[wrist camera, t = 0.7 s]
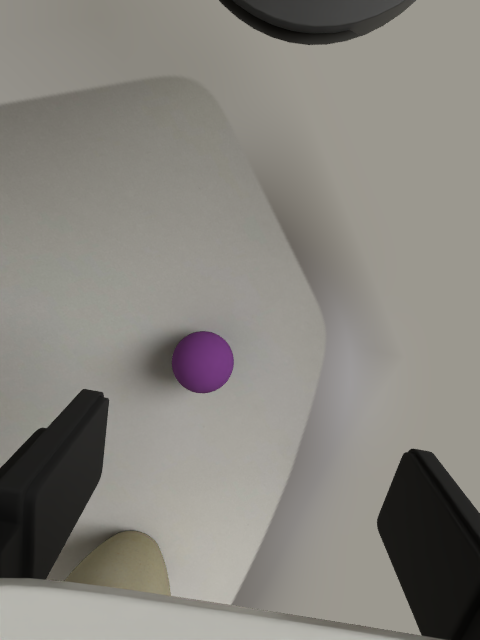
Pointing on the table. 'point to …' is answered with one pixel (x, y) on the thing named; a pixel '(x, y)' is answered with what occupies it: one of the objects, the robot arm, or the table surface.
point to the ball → (202, 362)
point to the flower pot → (125, 565)
